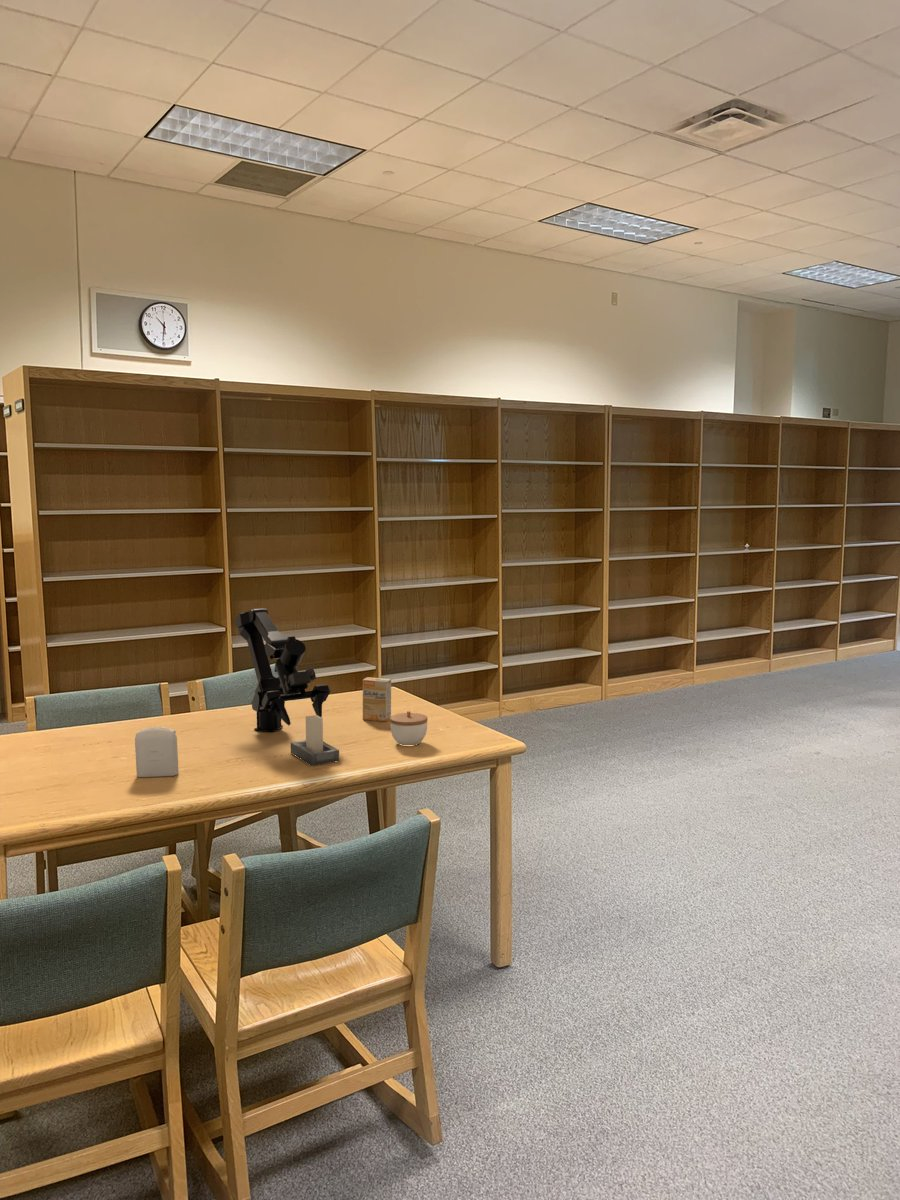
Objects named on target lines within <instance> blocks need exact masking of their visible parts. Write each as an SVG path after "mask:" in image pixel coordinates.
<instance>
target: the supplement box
mask: <svg viewBox="0 0 900 1200" xmlns="http://www.w3.org/2000/svg"><path fill="white" fill-rule="evenodd" d="M391 716H392V679H391V678H384V677H383V678H382V677H372V676H371V677H369V676H367V677H365V678H363V679H362V720H363V721H375V720H377V722H385V721H386V722H388V721H390V717H391ZM387 720H388V721H387Z"/></svg>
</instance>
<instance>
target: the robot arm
mask: <svg viewBox="0 0 900 1200" xmlns="http://www.w3.org/2000/svg"><path fill="white" fill-rule="evenodd" d="M234 618H235V620H234V624H235V627H236V628H237V630H238V633H239V635H240V636H241V638H243V639H244V640H245V641H246V642H247V646H248V650H249V655H250V658H251V661H252V665H253V668H254V672H255V675H256V680H257V684H256V687H255V690H254V693H255V694H254V695H253V697H252V700H251V708H252V709H251V710H253V711H254V712H256V727H255V728H253V731H258V732H270V733H273V732H276V731H278V730H279V729H281V728H283V726H284V725H283V724H282V722H284V723H285V724H286V725H287V726H288V727H289V726H291V723H292V722H291V720H290V716H289V715H288V711H287V709H286V706H285V705H286V702H290V701H297V700H298V701H299V700H305V699H306V700H307V699H310V701H311V702H312V704H311V707H312V708H313V710H314V712H315V715H317V716H319V717H321V718H323V716H322V715H323V714H322V713H323V704H324V702H326V701H327V699H328V697H329V695H330V693H331V688H330V686H329V685H328V684H326V683H325V684H317V685H316V684H315V685H314V687H313V688H312V690H308V691H306V689H308V687H309V685H308V684H310V683H311V682H313V681H315V680H316V678H317V675H316V672H315V670H314V668H312V667H311V668H307V669H306V670H304V671H299V669H298V667H297V666H298V665H300V663H301V660H302V658H303V656H304V655H305V652H306V645H305V644H304V643H303V642H302V641H301V640H299V639H298V638H297V639H296V636H295V635H294V636H293V635H292V636H288V635H287V634H285V633H282V632H280V630H278V628H277V626H276V624H275V623H274V621H273V620H272V618H271V617H270V615H269V611H268V609H267V608H265V607H264V608H262V607H261V608H252V609H249V610H248V611H244V612H239V613H238V615H236V617H234ZM269 660H276V661H275V663H274V673H277V676H278V677H276V676H274V674H273V671H272V667H271V663H270V661H269Z"/></svg>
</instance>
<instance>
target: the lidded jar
mask: <svg viewBox="0 0 900 1200" xmlns="http://www.w3.org/2000/svg"><path fill="white" fill-rule="evenodd" d="M428 718H429V717H428V716H427V715H425V714H422V713H418V712H411V711H406V712H402V713H396V714H393V715H391V717H390V719H389V722H390V723H389V725H390V733H391V736H392V737H393V740H395V742H396V743H397V744H398V743H399V744H402V745H416V744H419V743H421V742H422V741H423V740H424V739H425V737H426V735H427V729H428ZM399 744H398V745H399ZM419 745H420V744H419Z"/></svg>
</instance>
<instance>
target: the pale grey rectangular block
mask: <svg viewBox="0 0 900 1200" xmlns="http://www.w3.org/2000/svg"><path fill="white" fill-rule="evenodd" d="M323 720H324V719H323V717H322V718H321V717H319V716H317V715H316V714H315V715H307V716H305V740H306V748H307V749H309V750H311V751H312V752H314V753H317V752H323V741H324V731H323V730H324V726H323V725H324V724H323V723H324V721H323Z"/></svg>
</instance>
